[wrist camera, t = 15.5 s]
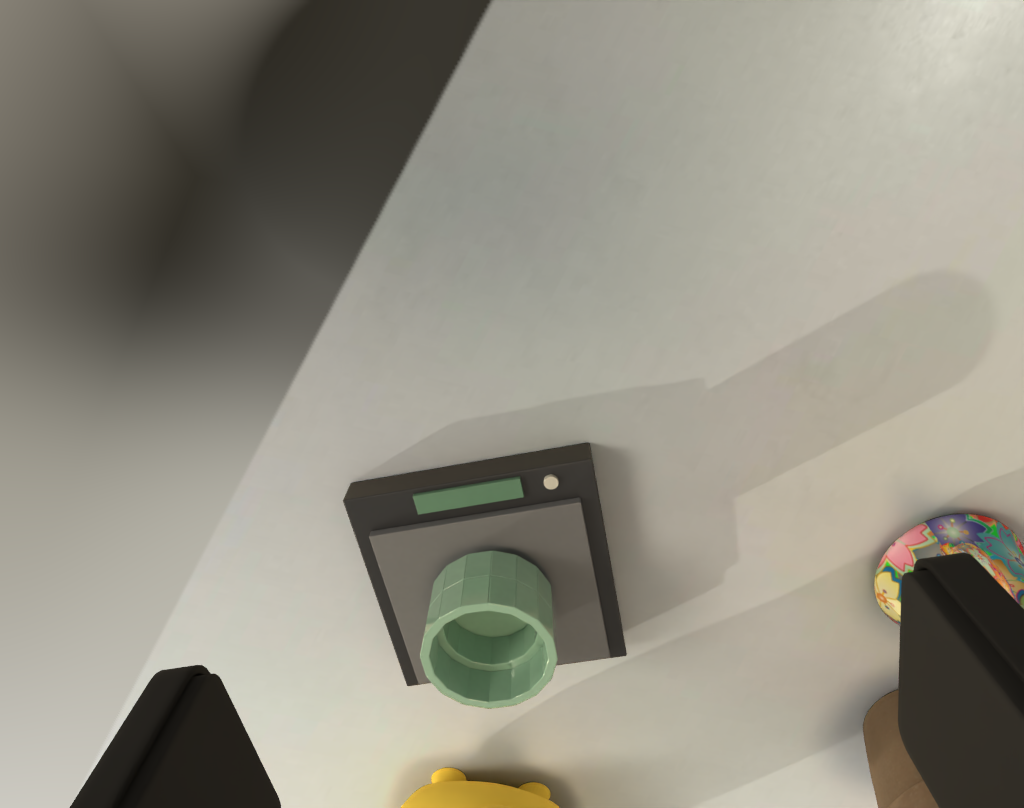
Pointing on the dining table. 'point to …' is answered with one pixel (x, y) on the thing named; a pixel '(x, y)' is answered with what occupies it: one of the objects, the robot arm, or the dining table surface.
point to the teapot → (476, 793)
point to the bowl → (490, 631)
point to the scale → (491, 543)
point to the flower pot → (892, 759)
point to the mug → (947, 536)
